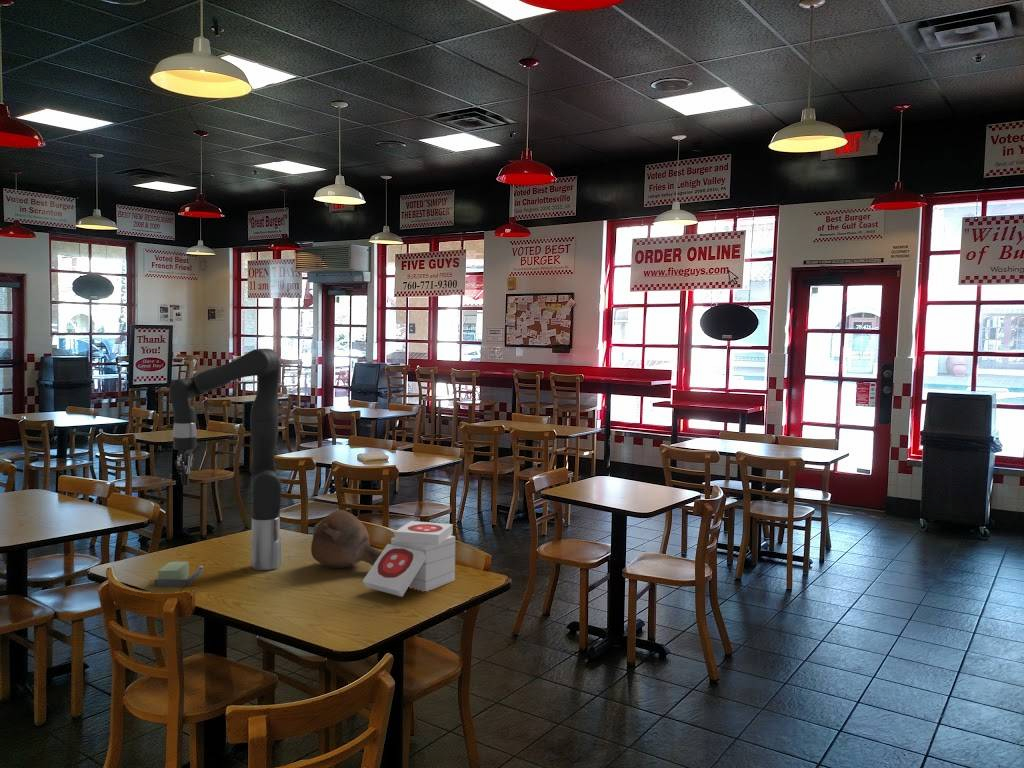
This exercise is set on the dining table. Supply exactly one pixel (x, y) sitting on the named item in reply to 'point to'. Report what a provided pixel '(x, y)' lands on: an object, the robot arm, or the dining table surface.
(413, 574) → the pizza boxes
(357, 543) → the jug
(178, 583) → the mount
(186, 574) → the pale green block
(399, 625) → the dining table surface
